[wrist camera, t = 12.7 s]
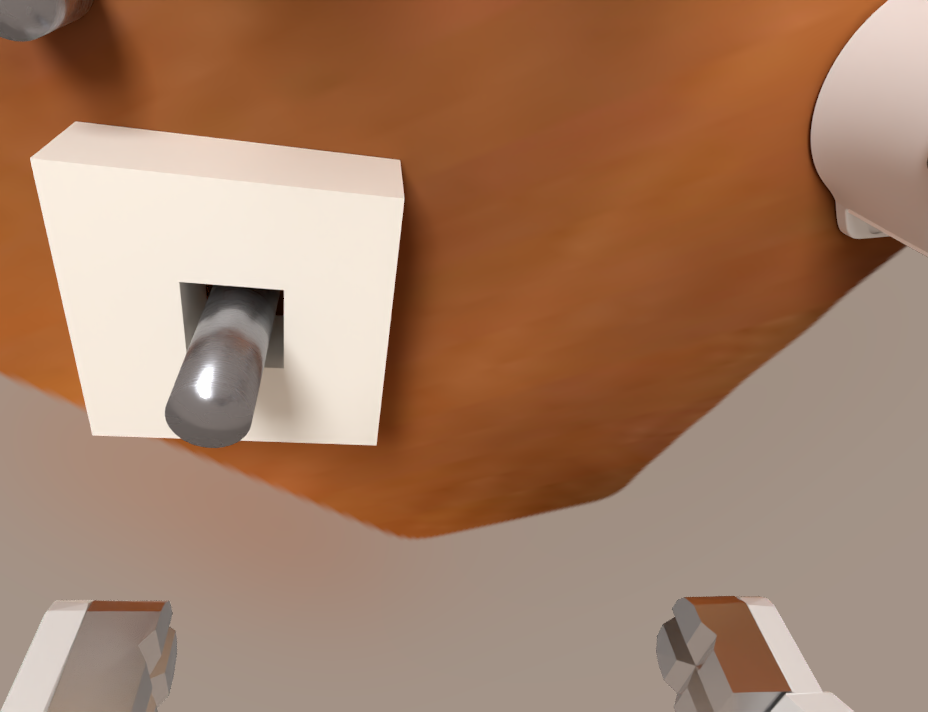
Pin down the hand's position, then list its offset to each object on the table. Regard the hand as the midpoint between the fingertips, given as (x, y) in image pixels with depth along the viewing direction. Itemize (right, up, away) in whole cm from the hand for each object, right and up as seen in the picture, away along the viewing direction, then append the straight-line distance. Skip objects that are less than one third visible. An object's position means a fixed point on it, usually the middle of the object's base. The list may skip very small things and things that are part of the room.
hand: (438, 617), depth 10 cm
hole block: (-14, +9, +32) cm, 36 cm away
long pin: (-14, +9, +32) cm, 36 cm away
